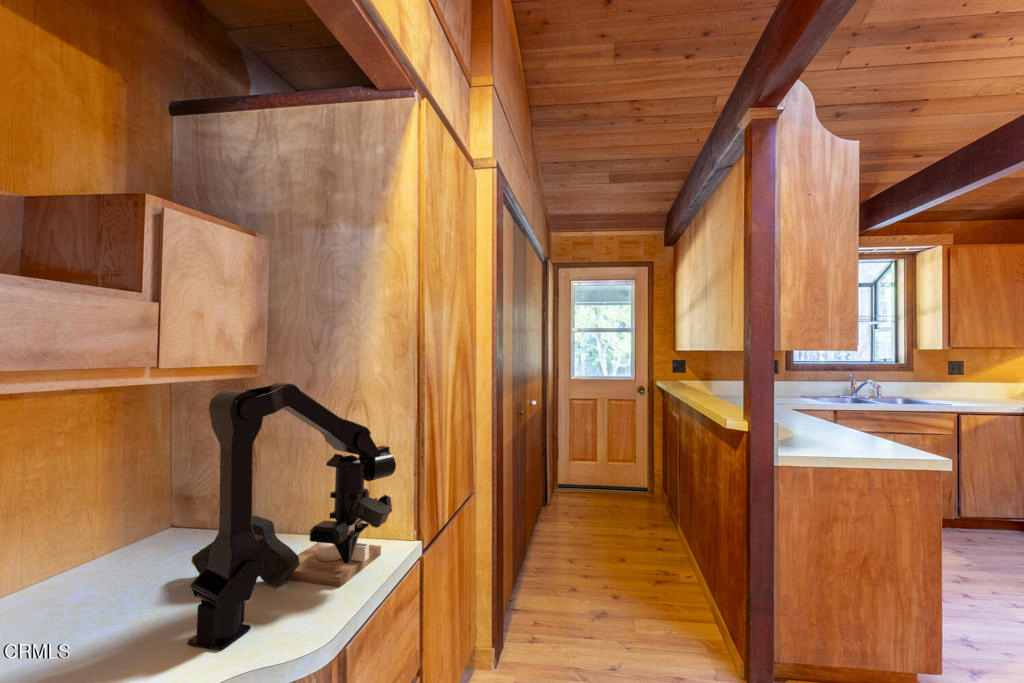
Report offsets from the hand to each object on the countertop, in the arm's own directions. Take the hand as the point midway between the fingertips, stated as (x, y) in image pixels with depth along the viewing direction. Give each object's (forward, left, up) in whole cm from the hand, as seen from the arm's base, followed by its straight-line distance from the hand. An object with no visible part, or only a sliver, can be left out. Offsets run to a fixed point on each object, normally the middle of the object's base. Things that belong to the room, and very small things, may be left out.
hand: (347, 562), depth 101 cm
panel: (+5, +7, -4) cm, 10 cm away
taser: (-6, +20, -4) cm, 21 cm away
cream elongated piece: (+5, +4, -1) cm, 7 cm away
